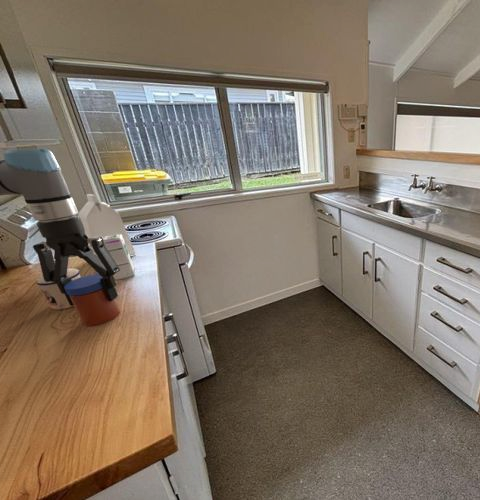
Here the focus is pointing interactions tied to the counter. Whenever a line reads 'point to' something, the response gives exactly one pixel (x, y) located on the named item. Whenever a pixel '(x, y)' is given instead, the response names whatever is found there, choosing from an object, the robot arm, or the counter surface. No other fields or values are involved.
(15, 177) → the robot arm
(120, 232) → the milk
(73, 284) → the jam lid
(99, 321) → the jam jar
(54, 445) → the counter surface
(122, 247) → the syrup box
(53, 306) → the teacup with lid
